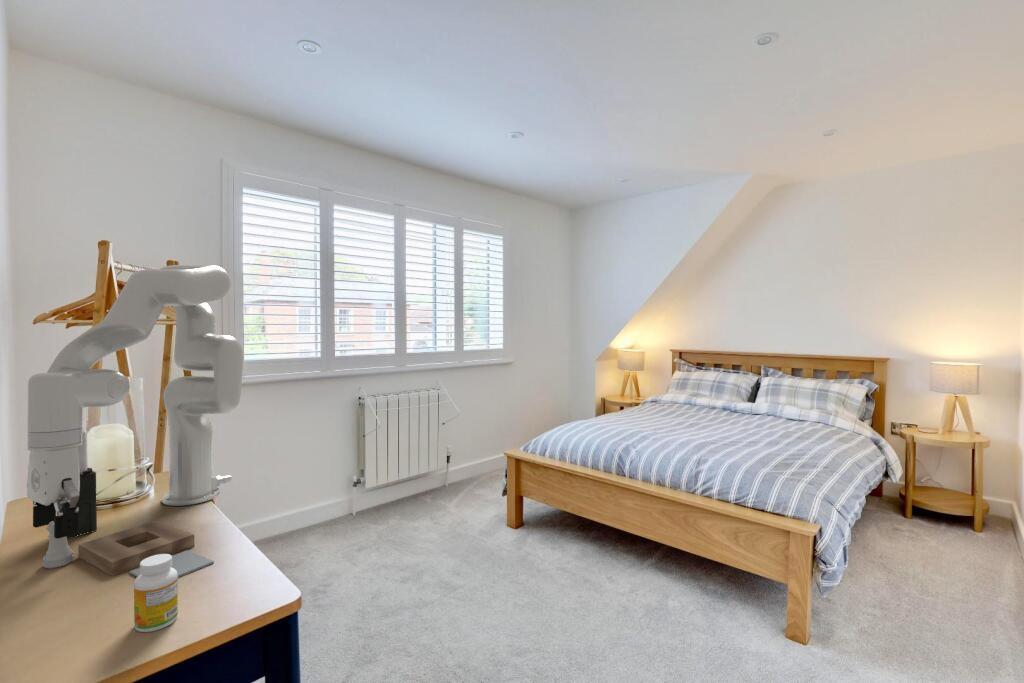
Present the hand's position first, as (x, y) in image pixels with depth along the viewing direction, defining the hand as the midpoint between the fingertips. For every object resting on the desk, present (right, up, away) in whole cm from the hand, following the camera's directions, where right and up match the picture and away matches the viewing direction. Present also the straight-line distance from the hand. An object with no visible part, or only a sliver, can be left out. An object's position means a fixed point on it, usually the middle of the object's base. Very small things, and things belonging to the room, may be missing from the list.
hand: (55, 530), depth 93 cm
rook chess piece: (0, -7, +1) cm, 7 cm away
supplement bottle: (+31, -8, -17) cm, 36 cm away
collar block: (+11, -7, +6) cm, 14 cm away
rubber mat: (+22, -7, 0) cm, 23 cm away
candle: (-8, -6, +15) cm, 18 cm away
